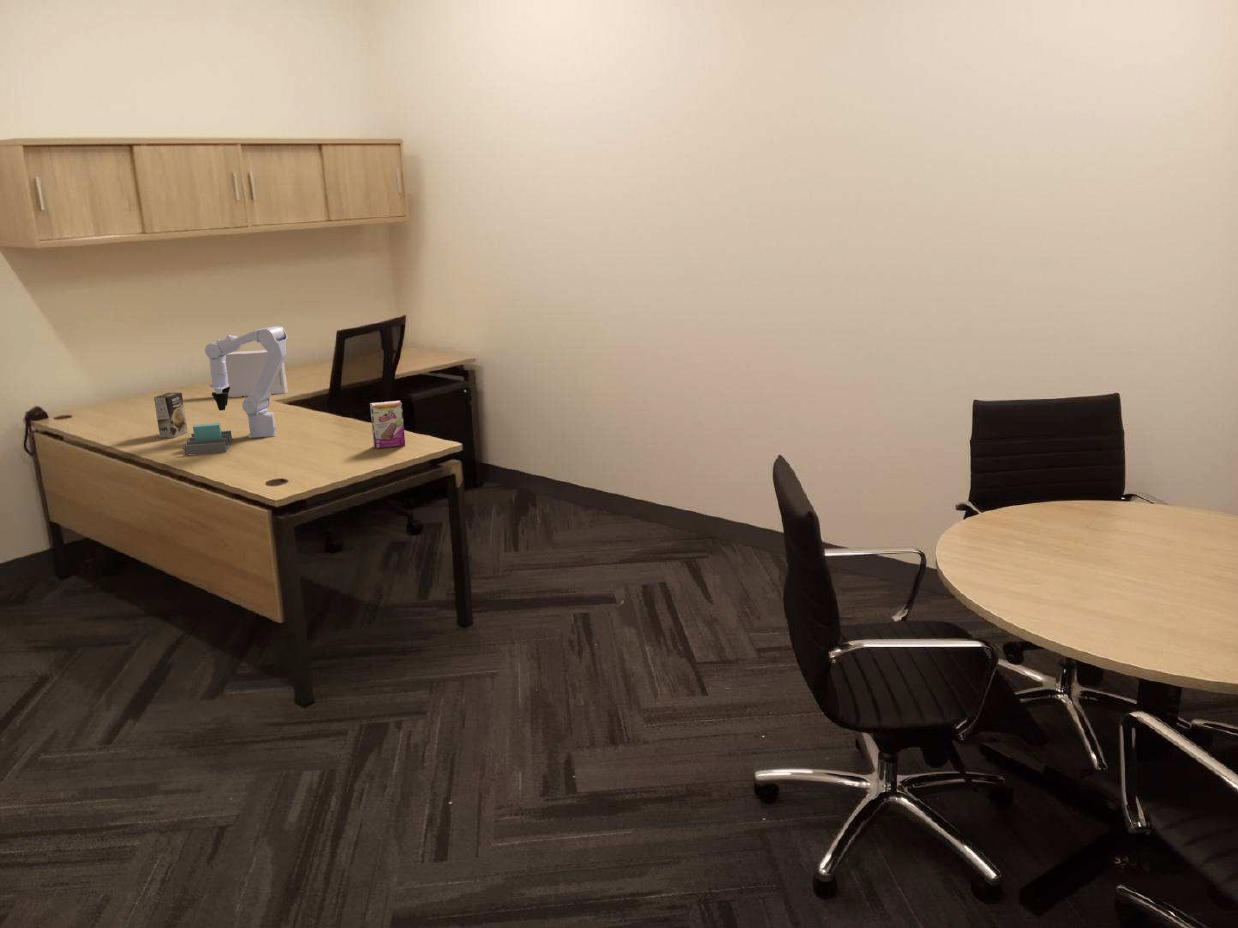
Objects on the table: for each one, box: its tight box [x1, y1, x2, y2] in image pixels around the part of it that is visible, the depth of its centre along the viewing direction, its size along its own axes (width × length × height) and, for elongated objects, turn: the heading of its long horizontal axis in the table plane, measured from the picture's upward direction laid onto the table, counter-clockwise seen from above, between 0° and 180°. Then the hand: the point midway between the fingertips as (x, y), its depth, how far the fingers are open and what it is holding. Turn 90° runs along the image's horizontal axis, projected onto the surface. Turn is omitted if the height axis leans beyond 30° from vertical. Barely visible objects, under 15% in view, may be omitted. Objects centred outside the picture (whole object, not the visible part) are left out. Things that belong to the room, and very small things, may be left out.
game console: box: [226, 349, 289, 398], centre depth 442 cm, size 6×27×20 cm, turn 106°
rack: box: [183, 430, 233, 456], centre depth 359 cm, size 14×19×4 cm
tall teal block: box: [192, 422, 223, 441], centre depth 358 cm, size 9×4×8 cm, turn 105°
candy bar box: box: [369, 400, 406, 450], centre depth 353 cm, size 11×5×16 cm, turn 110°
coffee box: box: [153, 392, 189, 439], centre depth 375 cm, size 9×6×16 cm
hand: (223, 407), depth 375 cm, fingers open, 7 cm apart
